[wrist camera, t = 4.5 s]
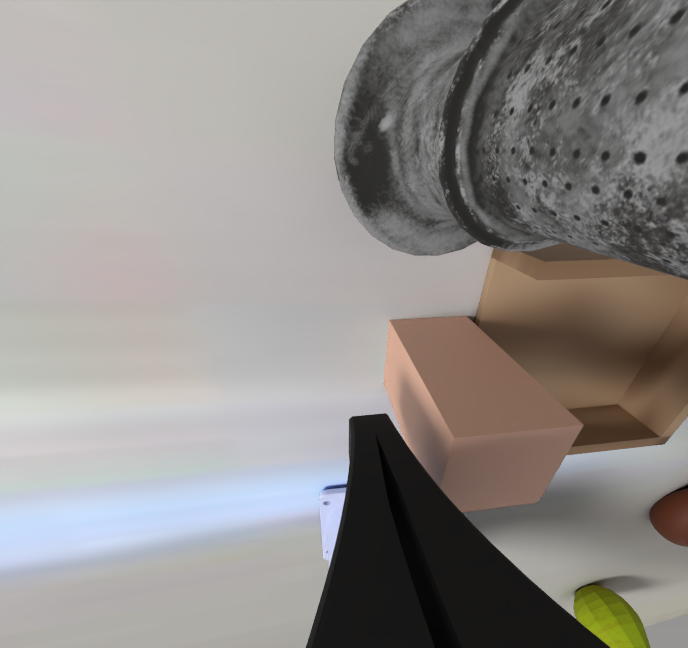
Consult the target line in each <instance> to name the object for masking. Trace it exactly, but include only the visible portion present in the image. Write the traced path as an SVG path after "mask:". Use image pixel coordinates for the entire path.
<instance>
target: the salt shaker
mask: <svg viewBox="0 0 688 648" xmlns="http://www.w3.org/2000/svg"><path fill="white" fill-rule="evenodd" d="M334 160H335V165H336V169H337V174H338V179H339V181H340V185H341V189H342V191H343V193H344V195H345V198H346V200H347V202H348V204H349V206H350V208H351V210H352V212H353V214H354V216H355V217H356V218H357V219H358V220H359V221H360V223H361V224H362V225H363V226H364V227H365V228H366V230H367V231H368V232H369V233H370V234H371V235H372V236H373V237H375V238H376V239H378V240H379V241H381V242H382V243H384V244H386V245H387V246H389V247H390V248H392V249H395V250H398V251H401V252H405V253H408V254H412V255H442V254H446V253H450V252H454V251H457V250H461V249H464V248H466V247H467V246H469V245H471V244H473V243H475V242H477V241H479V242H480V243H481V244H484V245H487V246H490V247H493V248H496V249H500V250H503V251H506V252H521V251H535V250H538V249H542V248H546V247H549V246H553V245H556V244H559V243H565V244H568V245H572V246H575V247H578V248H582V249H585V250H588V251H592V252H595V253H598V254H602V255H605V256H608V257H612V258H615V259H618V260H622V261H625V262H629V263H632V264H635V265H639V266H642V267H645V268H649V269H652V270H655V271H659V272H662V273H665V274H669V275H672V276H675V277H679V278H682V279H685V280H688V0H408V1H406V2H405V3H403V4H402V5H400V6H399V7H397V8H396V9H394V10H393V11H391V12H390V13H389V14H388V15H387V16H386V18H385V19H384V20H383V21H382V22H381V24H380V25H379V26H378V27H377V28H376V30H375V31H374V32H373V33H372V34H371V36H370V37H369V38H368V39H367V40H366V42H365V43H364V44H363V46H362V48H361V50H360V52H359V54H358V56H357V58H356V60H355V62H354V64H353V66H352V68H351V70H350V72H349V74H348V76H347V78H346V81H345V83H344V86H343V90H342V95H341V99H340V103H339V107H338V112H337V116H336V120H335V145H334Z"/></svg>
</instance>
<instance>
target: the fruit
mask: <svg viewBox="0 0 688 648" xmlns="http://www.w3.org/2000/svg"><path fill="white" fill-rule="evenodd" d="M574 612H575V616H576V619H577V620H578V621H579V622H580V623H581V624H582V625H584V626H585V627H586V628H587V629H588V630H590V631H591V632H592V633H593V634H595V635H596V636H597V637H598V638H600V639H601V640H602V641H603V642H605V643H606V644H607V645H608V646H609V647H611V648H650V645H649V642H648V638H647V635H646V633H645V630H644V627H643V624H642V622H641V620H640V618H639V616H638V614H637V613H636V612H635V611H634V610H633V608H632V607H631V606H630V605H629V604H628V603H627V602H626V601H625V600H624V599H623V598H622V597H620V596H619V595H617V594H616V593H614V592H613V591H611V590H609V589H606V588H604V587H601V586H599V585H588V586H585V587H582V588H581V589H579V590H578V591H577V592H576V593H575V599H574Z"/></svg>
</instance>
